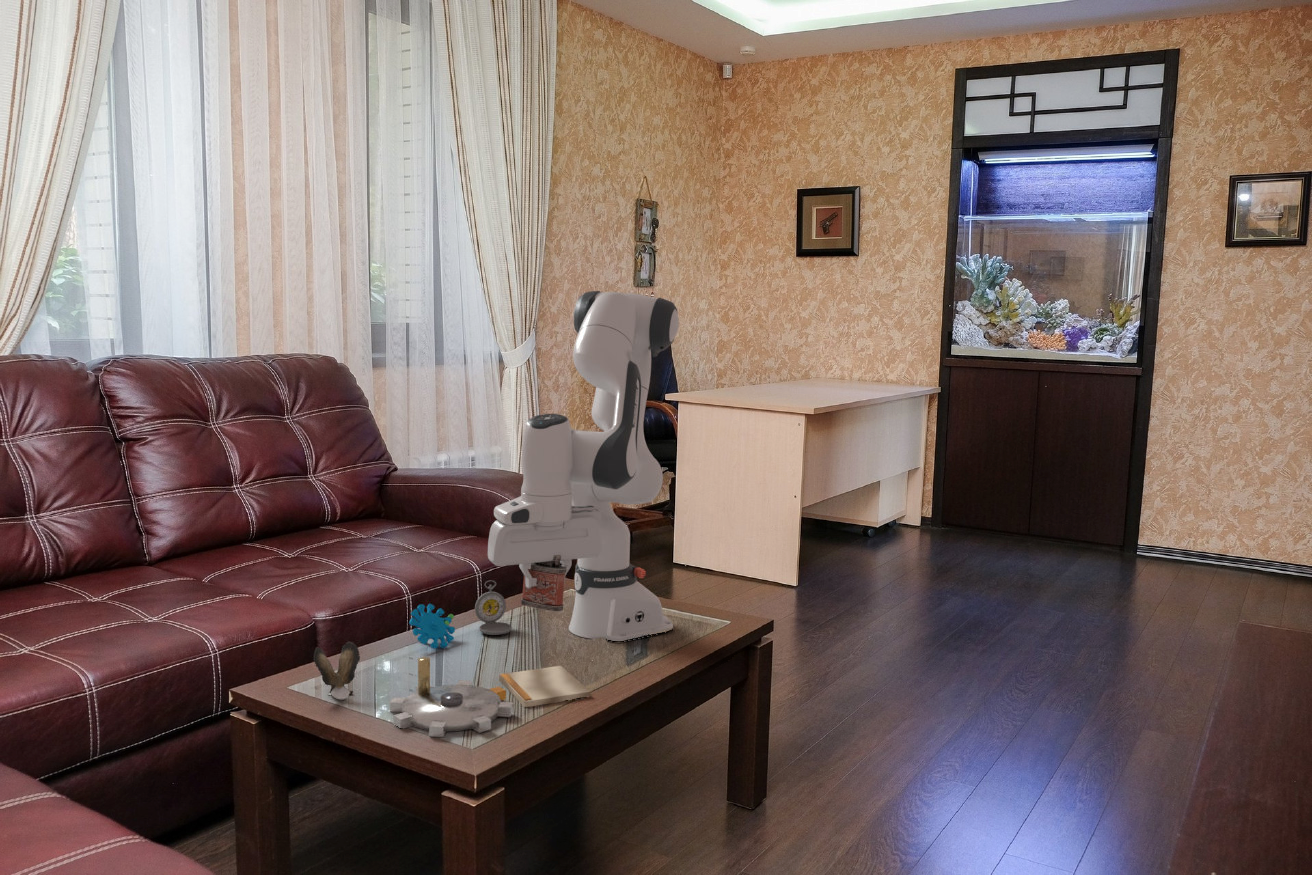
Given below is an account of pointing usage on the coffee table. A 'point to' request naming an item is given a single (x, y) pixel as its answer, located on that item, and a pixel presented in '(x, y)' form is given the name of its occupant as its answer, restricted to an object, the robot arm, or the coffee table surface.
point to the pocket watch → (488, 604)
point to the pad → (543, 686)
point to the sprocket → (449, 705)
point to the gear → (432, 626)
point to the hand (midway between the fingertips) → (545, 585)
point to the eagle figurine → (344, 672)
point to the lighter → (546, 586)
